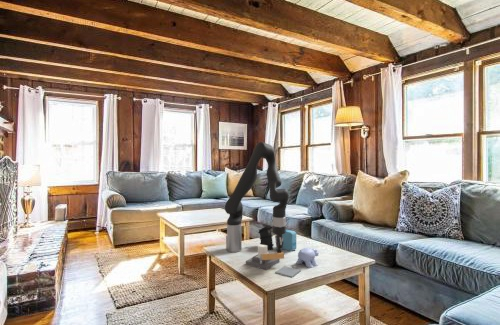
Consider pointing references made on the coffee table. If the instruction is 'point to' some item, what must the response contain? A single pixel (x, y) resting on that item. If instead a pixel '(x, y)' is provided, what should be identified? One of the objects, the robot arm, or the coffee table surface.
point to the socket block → (262, 262)
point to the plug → (262, 250)
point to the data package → (289, 240)
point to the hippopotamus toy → (307, 257)
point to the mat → (288, 271)
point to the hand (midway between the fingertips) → (279, 254)
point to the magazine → (266, 237)
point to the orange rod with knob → (271, 256)
